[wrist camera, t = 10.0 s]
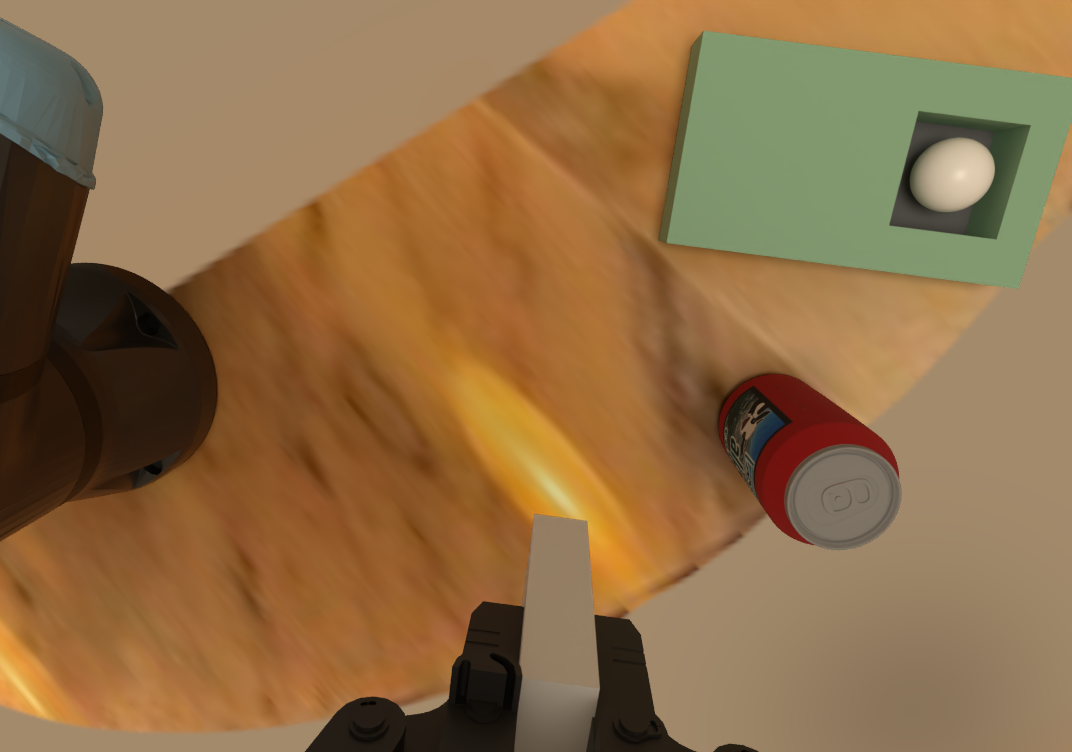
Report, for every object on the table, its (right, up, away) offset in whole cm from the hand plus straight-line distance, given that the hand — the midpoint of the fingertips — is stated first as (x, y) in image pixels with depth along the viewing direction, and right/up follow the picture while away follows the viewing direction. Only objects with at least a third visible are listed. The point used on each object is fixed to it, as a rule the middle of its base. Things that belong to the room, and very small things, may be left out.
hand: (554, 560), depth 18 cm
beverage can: (+15, +2, +24) cm, 28 cm away
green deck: (+18, +18, +20) cm, 32 cm away
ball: (+23, +16, +18) cm, 33 cm away
